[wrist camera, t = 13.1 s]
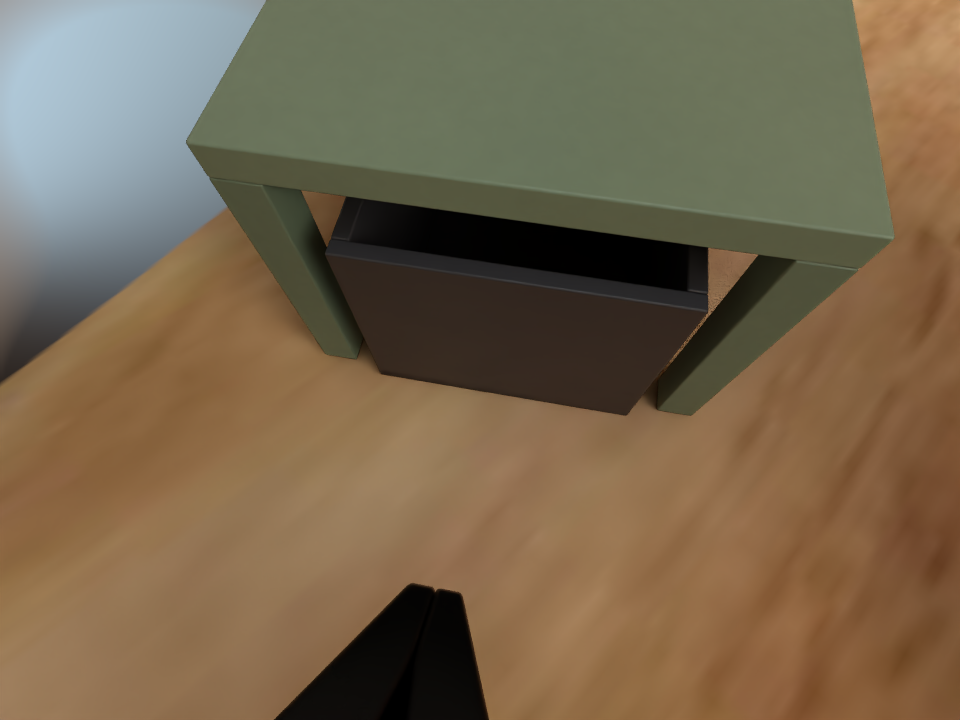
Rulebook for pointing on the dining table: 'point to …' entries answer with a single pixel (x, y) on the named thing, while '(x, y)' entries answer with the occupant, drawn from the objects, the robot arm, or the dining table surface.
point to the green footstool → (565, 142)
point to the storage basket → (516, 302)
